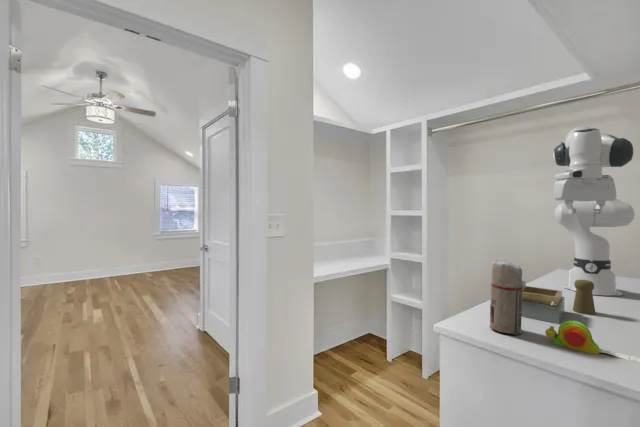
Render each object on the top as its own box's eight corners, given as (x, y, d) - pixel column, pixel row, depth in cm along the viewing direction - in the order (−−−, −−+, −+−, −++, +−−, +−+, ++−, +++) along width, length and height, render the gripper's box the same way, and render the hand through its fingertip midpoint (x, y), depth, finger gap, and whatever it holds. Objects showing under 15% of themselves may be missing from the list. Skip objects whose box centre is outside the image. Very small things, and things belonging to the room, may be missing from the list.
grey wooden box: (523, 304, 114) (523, 280, 114) (564, 311, 106) (564, 285, 106) (513, 314, 102) (514, 288, 102) (559, 323, 94) (559, 294, 94)
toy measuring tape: (546, 337, 84) (546, 313, 84) (647, 358, 72) (648, 331, 72) (544, 345, 80) (544, 320, 79) (653, 369, 67) (654, 339, 67)
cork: (600, 315, 102) (600, 282, 101) (579, 314, 103) (579, 281, 103) (588, 309, 108) (588, 278, 107) (568, 308, 109) (568, 277, 109)
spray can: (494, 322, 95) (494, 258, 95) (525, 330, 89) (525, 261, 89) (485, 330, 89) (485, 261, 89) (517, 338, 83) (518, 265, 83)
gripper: (604, 176, 111) (604, 214, 111) (550, 175, 110) (550, 213, 110) (622, 173, 105) (622, 214, 105) (565, 172, 104) (565, 213, 103)
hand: (584, 213), depth 107 cm, fingers open, 8 cm apart
